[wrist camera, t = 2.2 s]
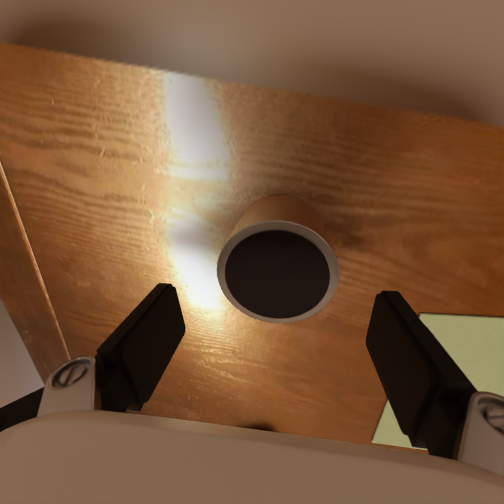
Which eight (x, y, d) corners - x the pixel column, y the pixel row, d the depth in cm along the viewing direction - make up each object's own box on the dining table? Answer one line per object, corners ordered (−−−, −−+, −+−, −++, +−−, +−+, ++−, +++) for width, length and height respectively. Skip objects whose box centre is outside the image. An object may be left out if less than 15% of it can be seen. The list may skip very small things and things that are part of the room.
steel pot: (233, 195, 16) (207, 221, 11) (327, 193, 15) (348, 220, 10) (240, 272, 19) (223, 321, 14) (319, 274, 18) (332, 328, 13)
